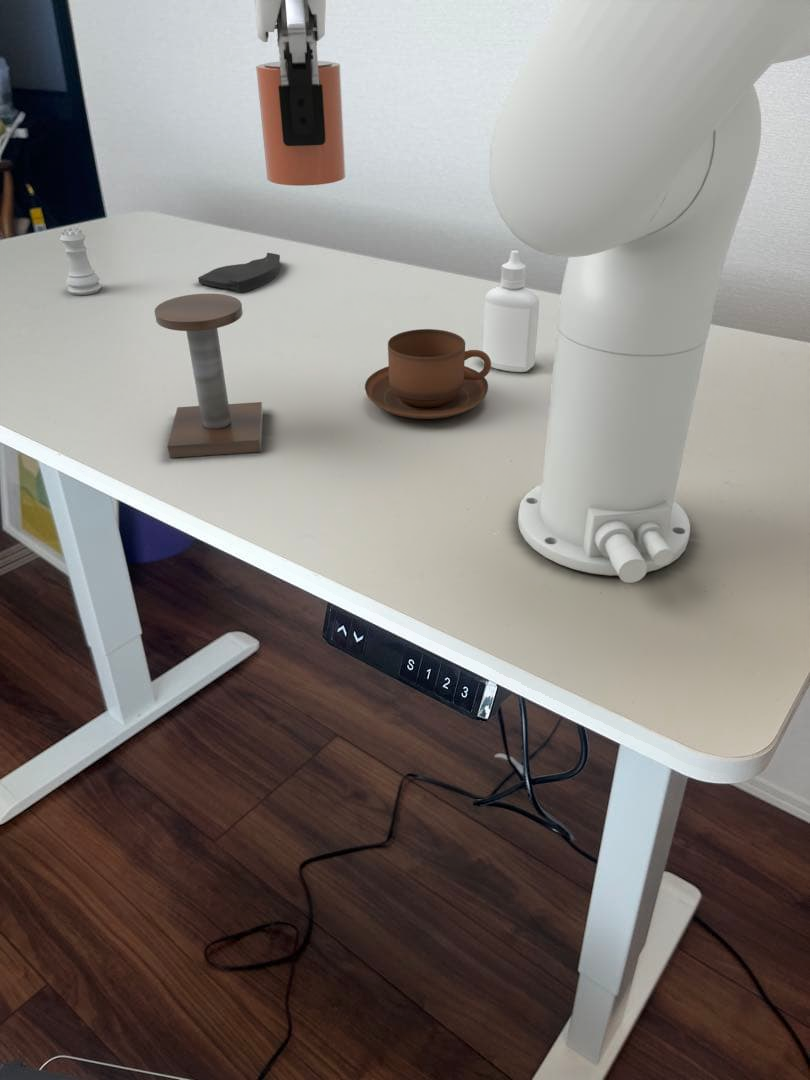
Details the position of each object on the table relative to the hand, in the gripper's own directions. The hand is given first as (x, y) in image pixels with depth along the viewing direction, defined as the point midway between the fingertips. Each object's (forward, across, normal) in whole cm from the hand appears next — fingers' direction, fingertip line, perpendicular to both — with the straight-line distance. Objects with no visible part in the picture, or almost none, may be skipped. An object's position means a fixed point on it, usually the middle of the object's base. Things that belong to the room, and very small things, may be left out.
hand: (303, 135), depth 65 cm
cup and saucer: (+25, -1, +10) cm, 27 cm away
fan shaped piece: (+25, -45, -9) cm, 52 cm away
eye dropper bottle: (+25, -9, +20) cm, 33 cm away
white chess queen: (+25, -43, -31) cm, 58 cm away
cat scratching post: (+24, +3, -10) cm, 27 cm away
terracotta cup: (+3, 0, 0) cm, 3 cm away
